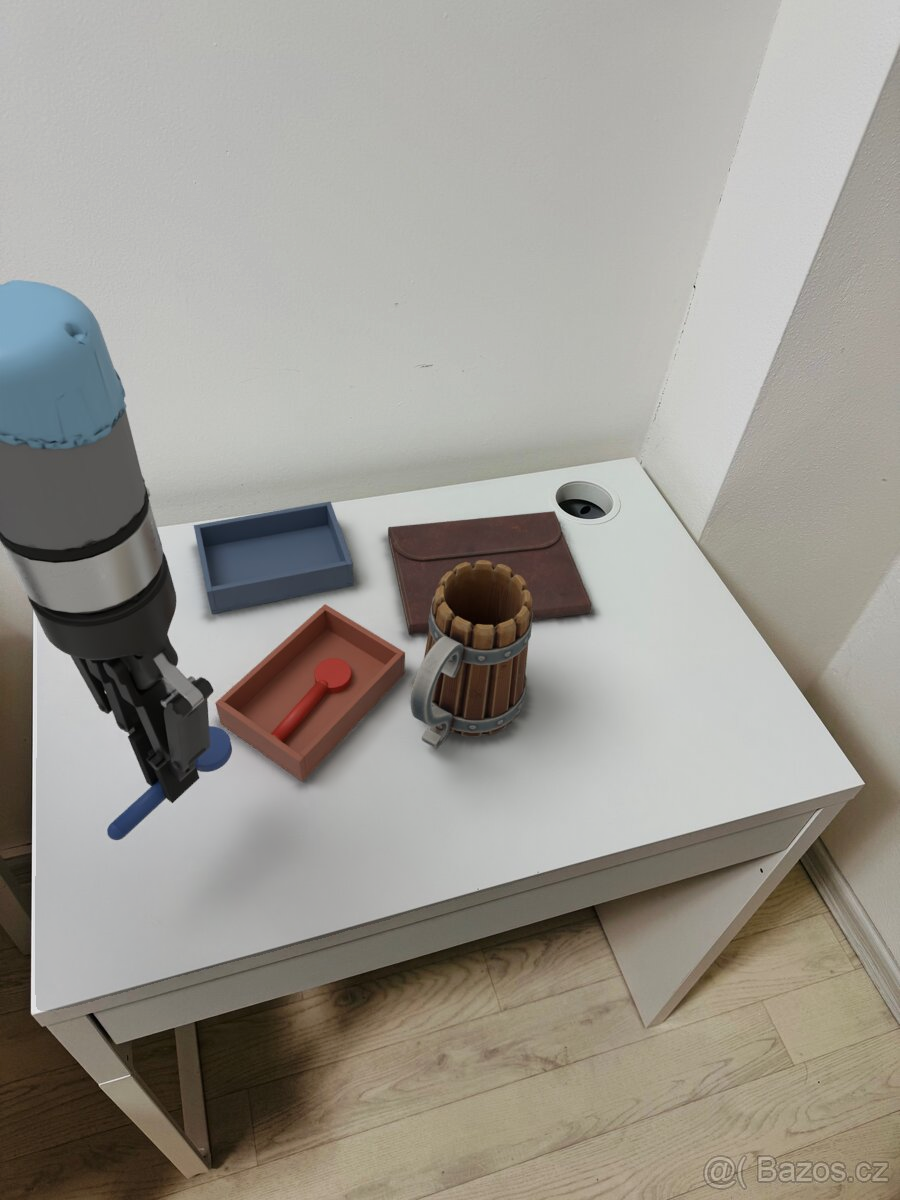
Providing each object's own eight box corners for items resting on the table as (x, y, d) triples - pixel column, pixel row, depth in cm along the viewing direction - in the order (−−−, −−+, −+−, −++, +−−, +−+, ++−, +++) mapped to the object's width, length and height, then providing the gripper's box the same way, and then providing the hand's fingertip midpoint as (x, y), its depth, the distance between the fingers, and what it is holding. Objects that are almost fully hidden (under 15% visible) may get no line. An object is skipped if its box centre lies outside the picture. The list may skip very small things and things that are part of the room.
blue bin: (211, 614, 87) (206, 592, 85) (198, 547, 94) (193, 524, 91) (353, 585, 91) (352, 563, 89) (332, 523, 98) (330, 501, 95)
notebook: (589, 615, 90) (593, 603, 89) (409, 636, 87) (409, 624, 85) (551, 520, 100) (554, 508, 99) (387, 536, 97) (387, 524, 95)
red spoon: (287, 758, 76) (286, 750, 75) (256, 739, 77) (254, 731, 76) (358, 674, 83) (358, 665, 82) (329, 658, 84) (328, 649, 83)
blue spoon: (128, 856, 61) (124, 848, 60) (95, 827, 62) (90, 818, 61) (241, 748, 67) (239, 739, 66) (209, 724, 68) (207, 715, 67)
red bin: (302, 782, 75) (299, 761, 73) (220, 723, 79) (214, 702, 76) (404, 673, 84) (405, 652, 81) (326, 625, 87) (324, 603, 85)
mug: (452, 636, 87) (462, 533, 76) (542, 682, 84) (566, 581, 73) (366, 745, 78) (363, 645, 67) (464, 800, 75) (478, 706, 64)
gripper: (238, 590, 46) (276, 797, 64) (68, 479, 51) (147, 699, 69) (129, 676, 42) (202, 873, 59) (-45, 546, 47) (70, 763, 64)
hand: (173, 780), depth 64 cm, fingers closed on blue spoon
